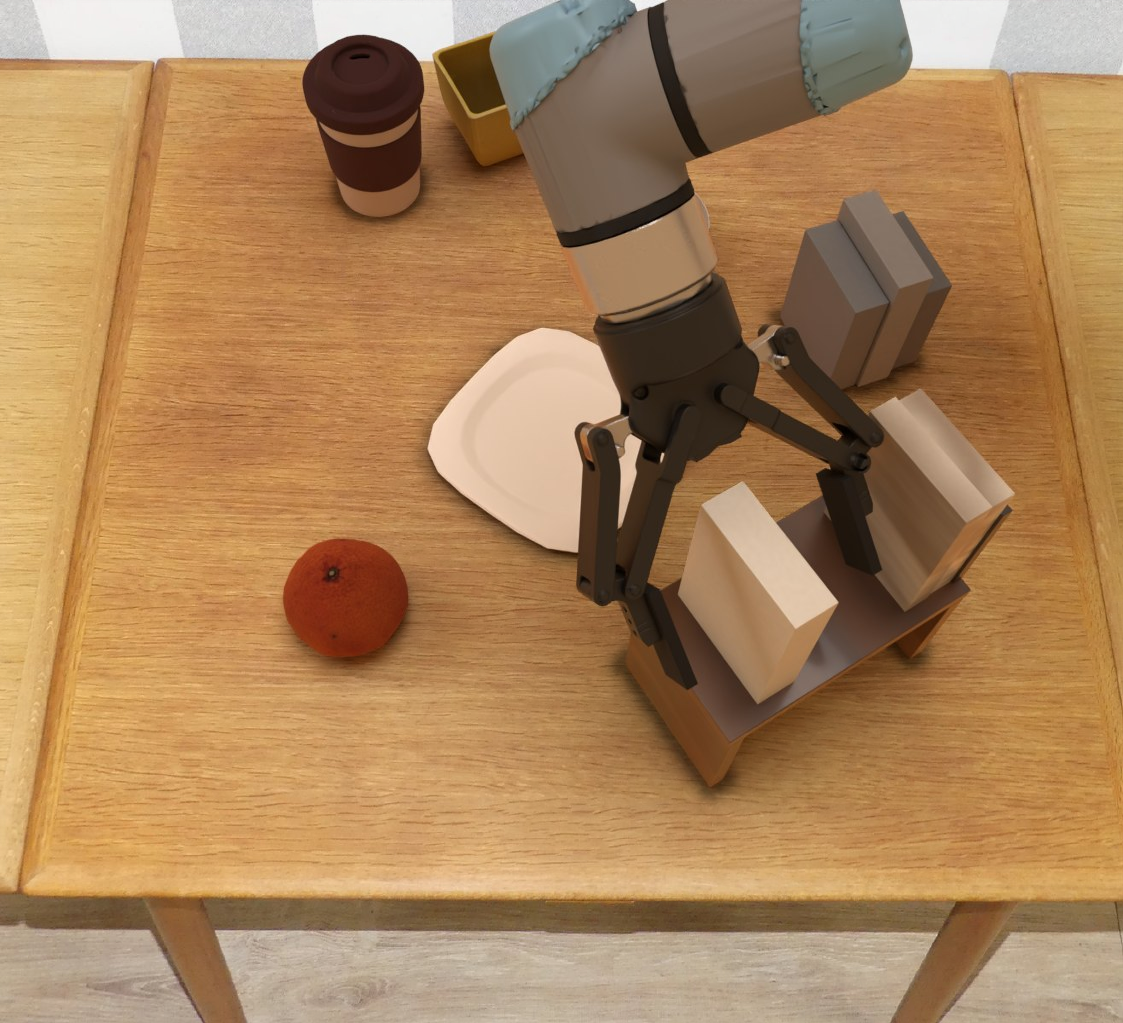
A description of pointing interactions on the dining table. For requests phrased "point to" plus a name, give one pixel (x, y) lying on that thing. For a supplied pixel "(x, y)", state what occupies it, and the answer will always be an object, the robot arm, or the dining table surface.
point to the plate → (530, 435)
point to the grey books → (864, 292)
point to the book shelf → (849, 581)
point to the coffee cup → (369, 120)
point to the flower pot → (476, 99)
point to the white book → (753, 592)
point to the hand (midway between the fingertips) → (775, 622)
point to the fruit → (345, 597)
